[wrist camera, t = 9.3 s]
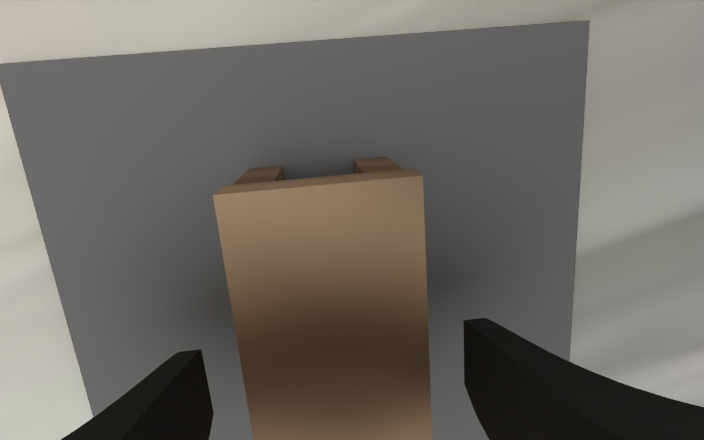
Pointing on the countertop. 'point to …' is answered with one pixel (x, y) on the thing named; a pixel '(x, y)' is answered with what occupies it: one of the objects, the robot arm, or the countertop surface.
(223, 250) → the stool
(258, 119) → the mat
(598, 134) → the countertop surface
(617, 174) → the countertop surface
